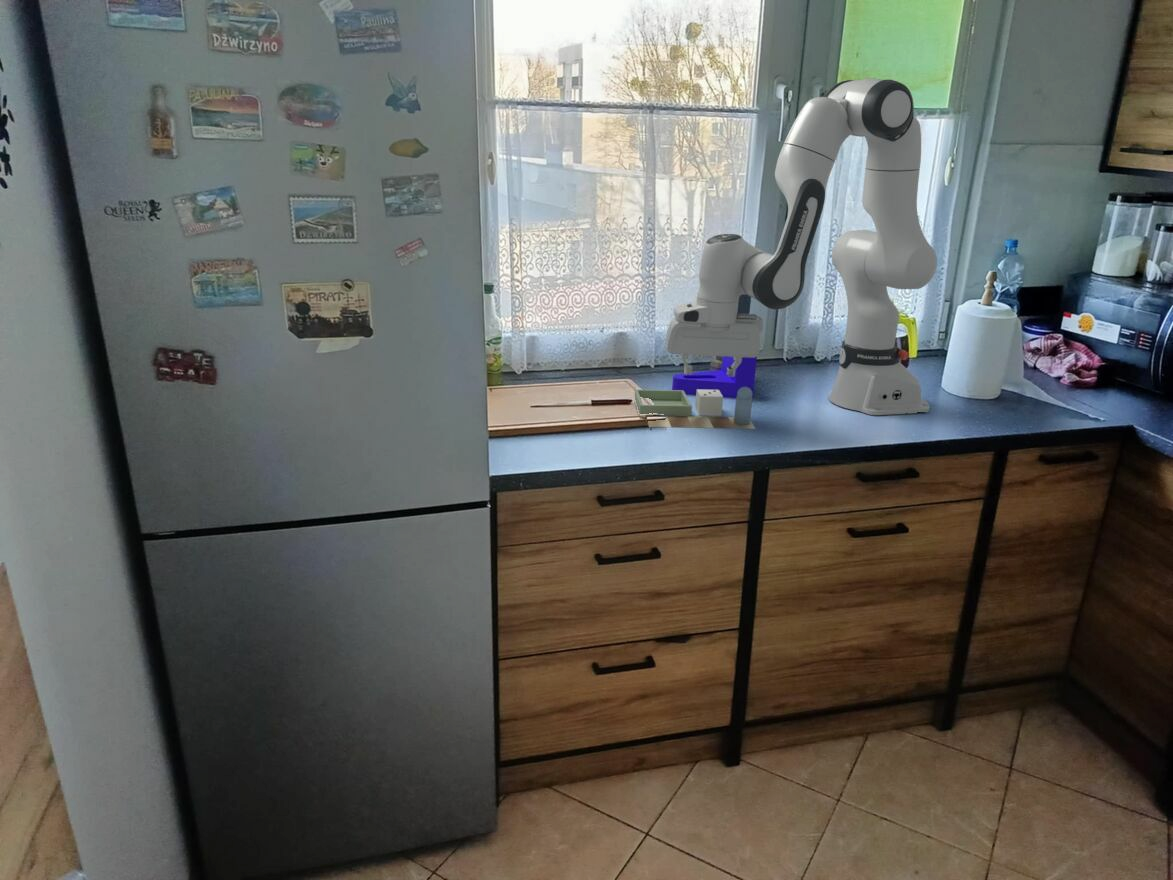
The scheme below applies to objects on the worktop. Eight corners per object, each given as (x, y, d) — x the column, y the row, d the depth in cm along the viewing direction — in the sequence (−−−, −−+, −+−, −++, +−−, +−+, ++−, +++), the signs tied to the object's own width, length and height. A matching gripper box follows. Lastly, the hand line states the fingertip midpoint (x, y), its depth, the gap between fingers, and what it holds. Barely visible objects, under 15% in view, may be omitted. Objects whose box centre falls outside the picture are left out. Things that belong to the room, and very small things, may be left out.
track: (748, 419, 192) (748, 417, 192) (755, 431, 185) (755, 428, 185) (645, 418, 190) (646, 415, 190) (649, 429, 184) (650, 426, 184)
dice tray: (682, 402, 202) (683, 390, 201) (690, 418, 191) (691, 406, 190) (634, 401, 201) (634, 389, 200) (639, 417, 191) (640, 405, 190)
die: (716, 410, 197) (718, 388, 195) (721, 418, 192) (723, 396, 191) (694, 410, 197) (696, 388, 195) (698, 418, 192) (700, 395, 190)
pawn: (747, 420, 190) (751, 384, 187) (751, 425, 187) (755, 389, 184) (732, 419, 190) (735, 384, 187) (735, 425, 187) (739, 389, 184)
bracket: (737, 386, 215) (742, 339, 211) (752, 400, 205) (757, 351, 201) (666, 387, 212) (669, 339, 208) (677, 401, 202) (681, 352, 198)
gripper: (760, 311, 190) (752, 372, 195) (667, 306, 188) (661, 369, 193) (767, 317, 184) (759, 380, 189) (671, 313, 183) (665, 377, 187)
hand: (709, 374), depth 191 cm, fingers open, 8 cm apart
